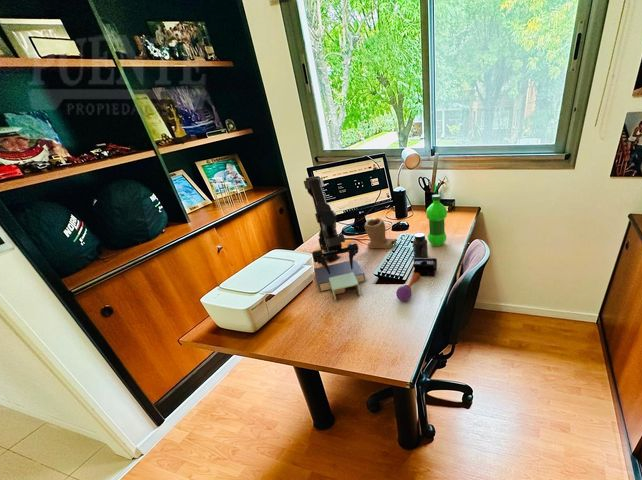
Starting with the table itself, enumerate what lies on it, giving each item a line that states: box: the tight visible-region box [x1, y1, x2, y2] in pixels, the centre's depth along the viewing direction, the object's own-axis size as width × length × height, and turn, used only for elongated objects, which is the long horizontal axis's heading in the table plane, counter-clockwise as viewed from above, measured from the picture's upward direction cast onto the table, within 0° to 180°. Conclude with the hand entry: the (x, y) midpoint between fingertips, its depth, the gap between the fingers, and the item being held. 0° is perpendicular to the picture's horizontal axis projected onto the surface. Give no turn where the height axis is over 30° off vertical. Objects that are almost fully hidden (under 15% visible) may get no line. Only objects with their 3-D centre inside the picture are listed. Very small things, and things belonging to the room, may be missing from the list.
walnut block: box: [345, 286, 356, 293], centre depth 139 cm, size 4×4×4 cm
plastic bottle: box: [425, 194, 448, 247], centre depth 164 cm, size 10×10×25 cm
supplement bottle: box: [412, 232, 429, 259], centre depth 156 cm, size 7×7×12 cm
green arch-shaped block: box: [329, 272, 361, 302], centre depth 136 cm, size 6×11×10 cm
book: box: [313, 259, 366, 293], centre depth 147 cm, size 16×20×4 cm
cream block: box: [335, 288, 346, 295], centre depth 138 cm, size 4×4×4 cm
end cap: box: [412, 257, 438, 278], centre depth 145 cm, size 10×7×7 cm
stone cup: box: [364, 217, 398, 249], centre depth 170 cm, size 15×12×15 cm
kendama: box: [395, 272, 421, 302], centre depth 133 cm, size 6×6×20 cm
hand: (341, 271), depth 133 cm, fingers open, 9 cm apart
